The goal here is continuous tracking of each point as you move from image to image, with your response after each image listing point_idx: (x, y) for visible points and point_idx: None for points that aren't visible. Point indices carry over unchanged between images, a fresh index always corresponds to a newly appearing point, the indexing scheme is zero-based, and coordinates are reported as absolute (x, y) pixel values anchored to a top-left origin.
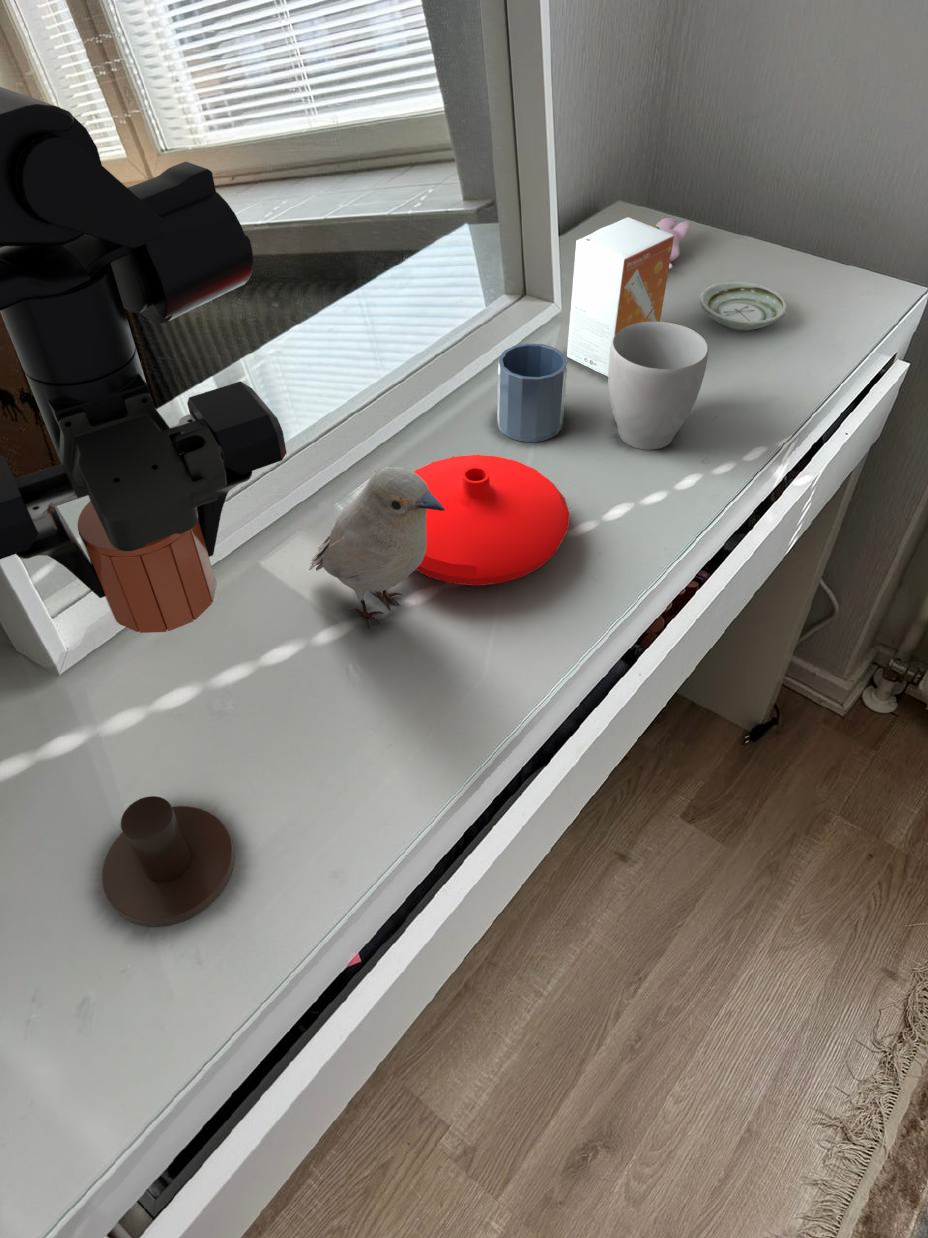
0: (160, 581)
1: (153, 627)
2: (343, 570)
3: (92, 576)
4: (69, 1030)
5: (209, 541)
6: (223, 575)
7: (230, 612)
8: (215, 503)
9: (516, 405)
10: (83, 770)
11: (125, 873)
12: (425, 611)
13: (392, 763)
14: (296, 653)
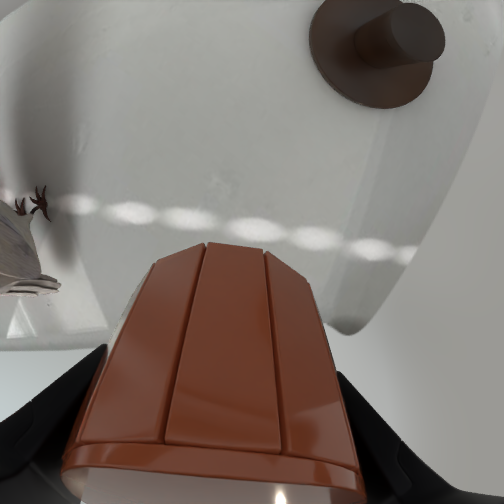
0: (244, 341)
1: (286, 269)
2: (11, 239)
3: (360, 418)
4: (478, 15)
5: (86, 370)
6: None
7: None
8: (8, 440)
9: None
10: (377, 209)
11: (413, 66)
12: (2, 175)
13: (117, 9)
14: (117, 202)
